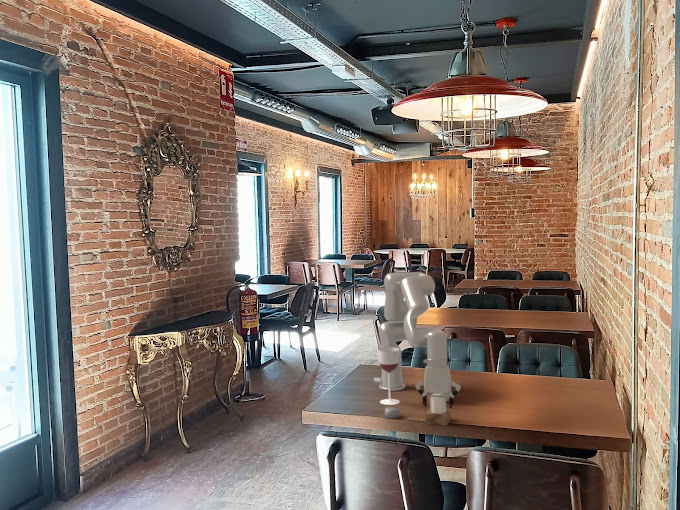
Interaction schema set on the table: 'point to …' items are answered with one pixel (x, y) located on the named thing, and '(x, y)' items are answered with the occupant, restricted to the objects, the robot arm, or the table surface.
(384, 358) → the wineglass
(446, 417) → the post base
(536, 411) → the table surface
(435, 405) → the cream cap
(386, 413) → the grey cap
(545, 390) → the table surface
